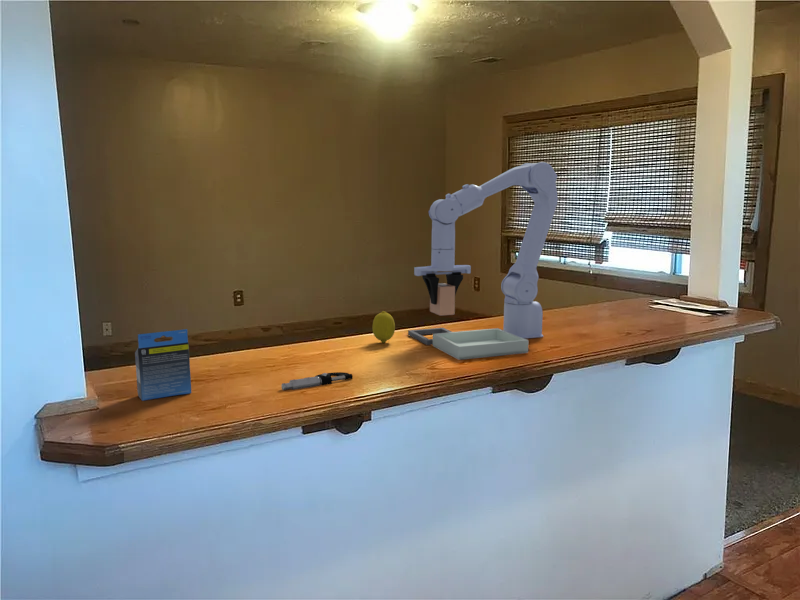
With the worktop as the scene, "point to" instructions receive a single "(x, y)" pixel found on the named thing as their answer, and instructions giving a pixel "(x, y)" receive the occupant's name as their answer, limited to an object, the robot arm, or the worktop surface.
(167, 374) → the label tape cartridge
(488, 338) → the parts tray
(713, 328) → the worktop surface
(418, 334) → the frame
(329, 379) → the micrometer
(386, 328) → the lemon
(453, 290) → the block
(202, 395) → the worktop surface
